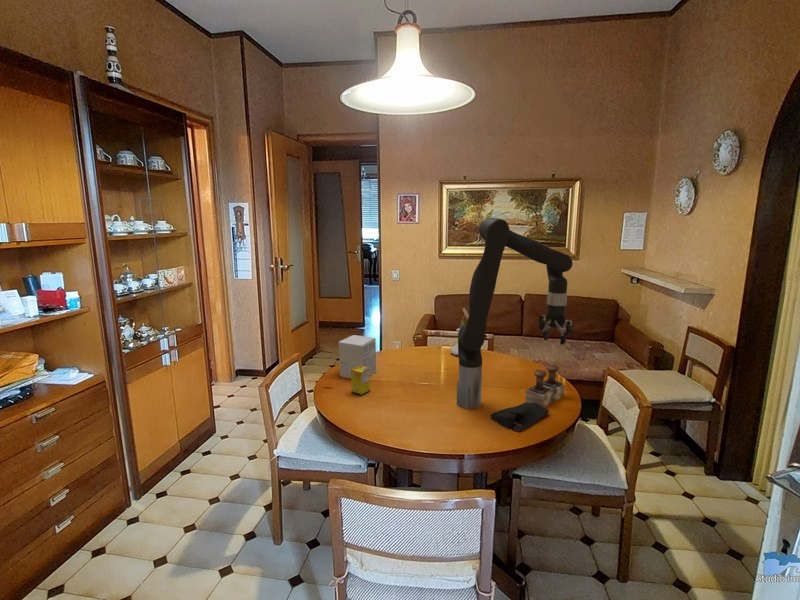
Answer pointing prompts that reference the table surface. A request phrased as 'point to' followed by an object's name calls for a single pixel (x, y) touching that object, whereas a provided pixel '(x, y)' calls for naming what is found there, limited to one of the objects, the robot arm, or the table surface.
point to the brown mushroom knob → (552, 372)
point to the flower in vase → (455, 348)
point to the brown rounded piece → (539, 377)
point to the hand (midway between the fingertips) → (554, 342)
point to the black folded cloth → (519, 416)
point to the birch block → (545, 393)
